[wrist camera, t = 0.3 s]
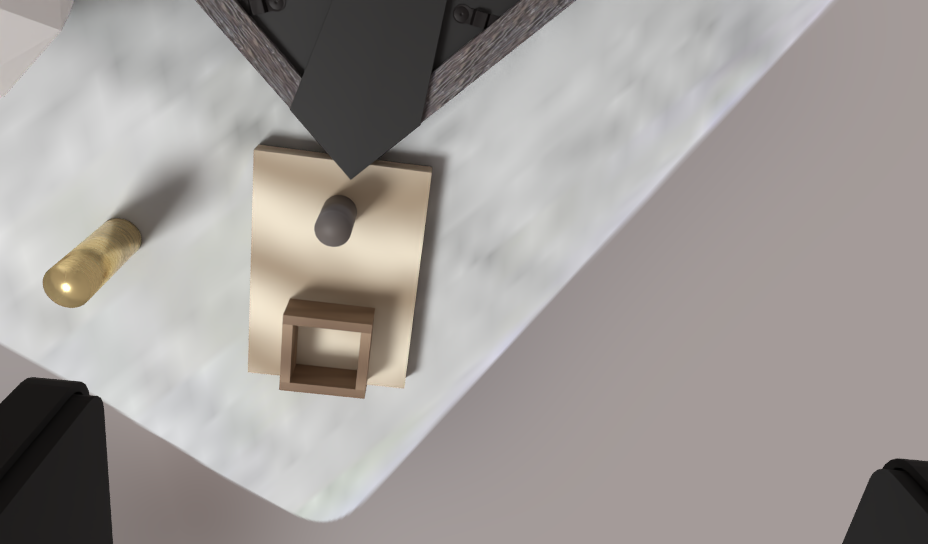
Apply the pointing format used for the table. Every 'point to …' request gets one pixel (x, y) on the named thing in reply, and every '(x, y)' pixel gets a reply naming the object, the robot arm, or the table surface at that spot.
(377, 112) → the picture frame
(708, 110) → the table surface
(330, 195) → the board
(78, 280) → the brass pin
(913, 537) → the robot arm
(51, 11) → the geometric orb
